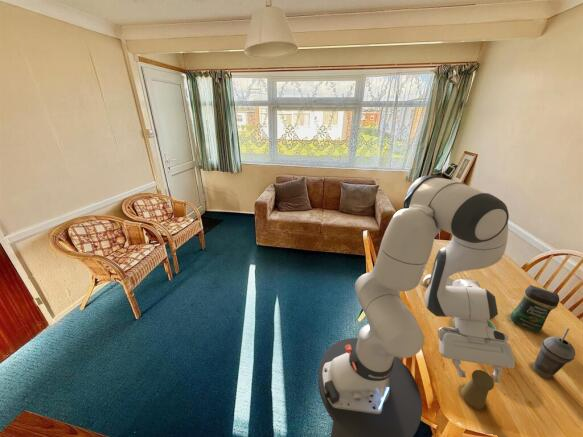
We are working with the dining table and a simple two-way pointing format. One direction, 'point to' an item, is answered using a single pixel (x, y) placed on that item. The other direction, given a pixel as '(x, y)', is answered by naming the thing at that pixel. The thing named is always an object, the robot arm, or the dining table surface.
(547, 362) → the beverage cup
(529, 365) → the dining table surface
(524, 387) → the dining table surface
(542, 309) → the coffee jar
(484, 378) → the brown peanut shape
